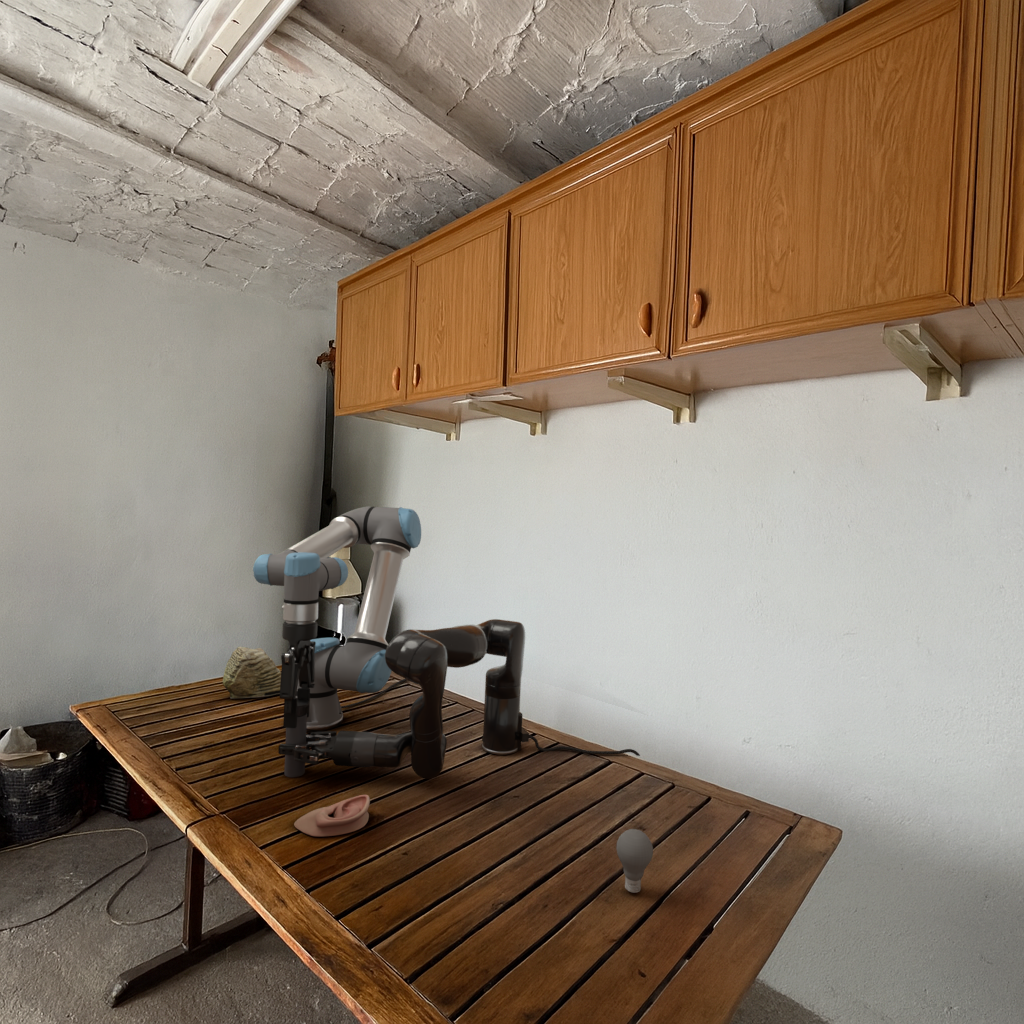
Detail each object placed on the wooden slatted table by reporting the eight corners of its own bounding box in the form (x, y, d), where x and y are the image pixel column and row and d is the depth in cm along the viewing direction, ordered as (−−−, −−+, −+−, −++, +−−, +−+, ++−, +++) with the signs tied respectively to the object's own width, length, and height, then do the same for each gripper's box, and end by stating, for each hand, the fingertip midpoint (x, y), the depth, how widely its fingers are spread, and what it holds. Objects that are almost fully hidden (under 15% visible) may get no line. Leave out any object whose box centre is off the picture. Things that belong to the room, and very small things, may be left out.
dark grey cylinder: (281, 776, 142) (283, 708, 142) (288, 768, 147) (291, 701, 146) (300, 777, 142) (303, 709, 142) (307, 769, 147) (310, 702, 146)
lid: (296, 717, 141) (297, 707, 141) (279, 713, 143) (280, 703, 143) (313, 711, 145) (314, 701, 145) (296, 706, 148) (297, 697, 148)
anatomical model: (285, 811, 119) (316, 784, 130) (285, 832, 119) (316, 803, 130) (351, 821, 116) (377, 793, 127) (350, 842, 116) (376, 813, 128)
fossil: (218, 695, 195) (220, 647, 195) (278, 685, 208) (279, 640, 207) (228, 703, 189) (230, 653, 188) (289, 692, 201) (290, 645, 201)
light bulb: (610, 879, 108) (613, 822, 108) (644, 879, 109) (647, 822, 109) (619, 902, 102) (622, 840, 102) (655, 901, 103) (658, 840, 103)
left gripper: (301, 612, 154) (297, 706, 154) (264, 628, 134) (260, 736, 135) (331, 614, 153) (328, 709, 154) (298, 630, 134) (294, 738, 134)
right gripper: (366, 721, 151) (296, 717, 151) (349, 744, 137) (271, 740, 137) (365, 752, 151) (295, 748, 152) (347, 779, 137) (269, 774, 137)
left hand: (296, 721), depth 144 cm, fingers open, 6 cm apart
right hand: (284, 744), depth 144 cm, fingers closed on dark grey cylinder, 4 cm apart
